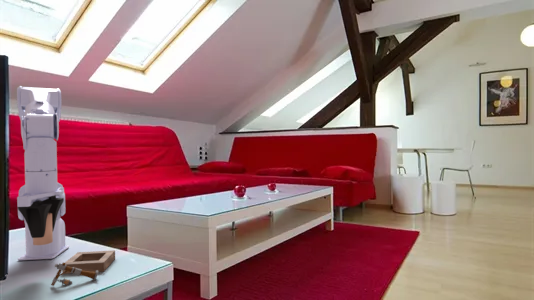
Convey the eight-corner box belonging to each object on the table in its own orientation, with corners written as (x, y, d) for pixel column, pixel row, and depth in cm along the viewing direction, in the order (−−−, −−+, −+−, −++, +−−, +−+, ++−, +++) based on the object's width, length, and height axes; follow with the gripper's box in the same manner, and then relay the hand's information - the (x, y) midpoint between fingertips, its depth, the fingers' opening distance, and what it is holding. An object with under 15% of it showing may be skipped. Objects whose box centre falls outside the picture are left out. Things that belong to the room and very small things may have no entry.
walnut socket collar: (78, 260, 82) (77, 252, 82) (115, 258, 83) (115, 250, 83) (62, 273, 74) (62, 264, 74) (103, 271, 75) (103, 262, 75)
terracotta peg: (38, 240, 75) (37, 213, 75) (55, 240, 75) (55, 212, 75) (29, 245, 71) (28, 216, 71) (47, 244, 72) (47, 216, 72)
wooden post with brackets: (46, 282, 68) (57, 259, 68) (88, 290, 71) (98, 269, 72) (45, 285, 66) (56, 262, 67) (89, 294, 70) (98, 272, 70)
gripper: (44, 173, 66) (46, 243, 67) (75, 167, 81) (76, 225, 81) (4, 174, 65) (6, 245, 66) (42, 168, 80) (44, 226, 80)
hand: (42, 234), depth 73 cm, fingers closed on terracotta peg, 3 cm apart
